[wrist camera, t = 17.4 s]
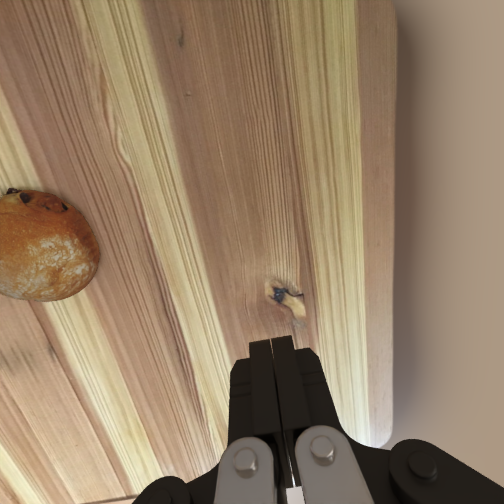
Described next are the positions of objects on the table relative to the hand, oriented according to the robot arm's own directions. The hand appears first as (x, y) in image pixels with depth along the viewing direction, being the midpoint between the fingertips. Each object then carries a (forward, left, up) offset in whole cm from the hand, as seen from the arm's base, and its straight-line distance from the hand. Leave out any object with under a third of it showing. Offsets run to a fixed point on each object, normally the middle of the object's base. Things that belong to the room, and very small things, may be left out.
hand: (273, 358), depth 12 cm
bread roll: (+9, -17, -21) cm, 29 cm away
